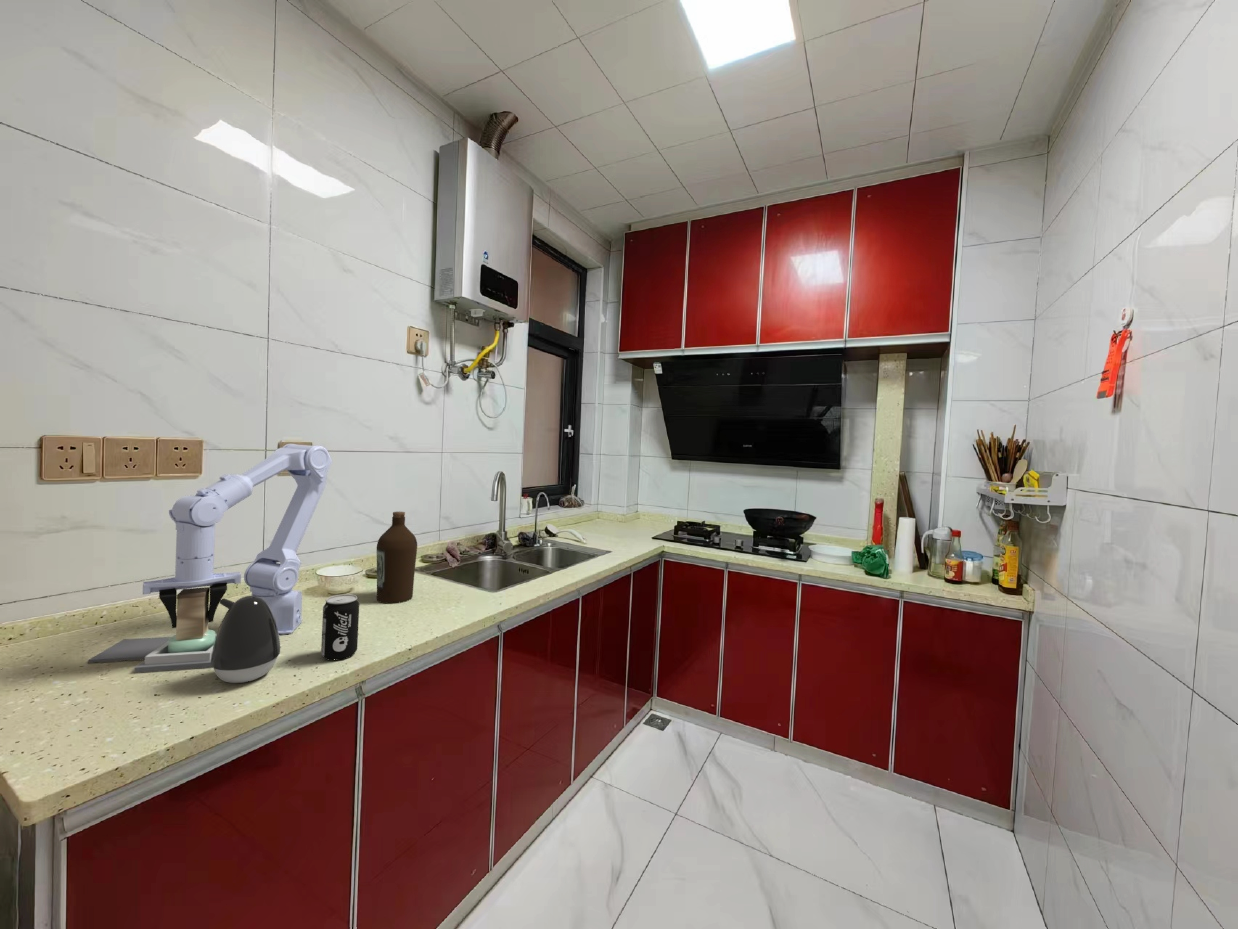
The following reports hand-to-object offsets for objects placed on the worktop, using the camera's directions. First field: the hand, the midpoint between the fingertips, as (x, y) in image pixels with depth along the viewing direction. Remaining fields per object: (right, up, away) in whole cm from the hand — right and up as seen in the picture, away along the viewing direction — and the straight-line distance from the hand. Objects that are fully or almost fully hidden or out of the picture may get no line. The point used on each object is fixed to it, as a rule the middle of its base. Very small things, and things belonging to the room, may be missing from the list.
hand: (192, 623), depth 95 cm
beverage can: (+26, -8, +5) cm, 28 cm away
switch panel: (0, -7, 0) cm, 7 cm away
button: (0, -5, 0) cm, 5 cm away
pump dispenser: (+15, -8, -6) cm, 18 cm away
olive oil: (+20, -7, +42) cm, 47 cm away
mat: (-12, -6, +1) cm, 14 cm away
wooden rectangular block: (0, -2, 0) cm, 2 cm away
